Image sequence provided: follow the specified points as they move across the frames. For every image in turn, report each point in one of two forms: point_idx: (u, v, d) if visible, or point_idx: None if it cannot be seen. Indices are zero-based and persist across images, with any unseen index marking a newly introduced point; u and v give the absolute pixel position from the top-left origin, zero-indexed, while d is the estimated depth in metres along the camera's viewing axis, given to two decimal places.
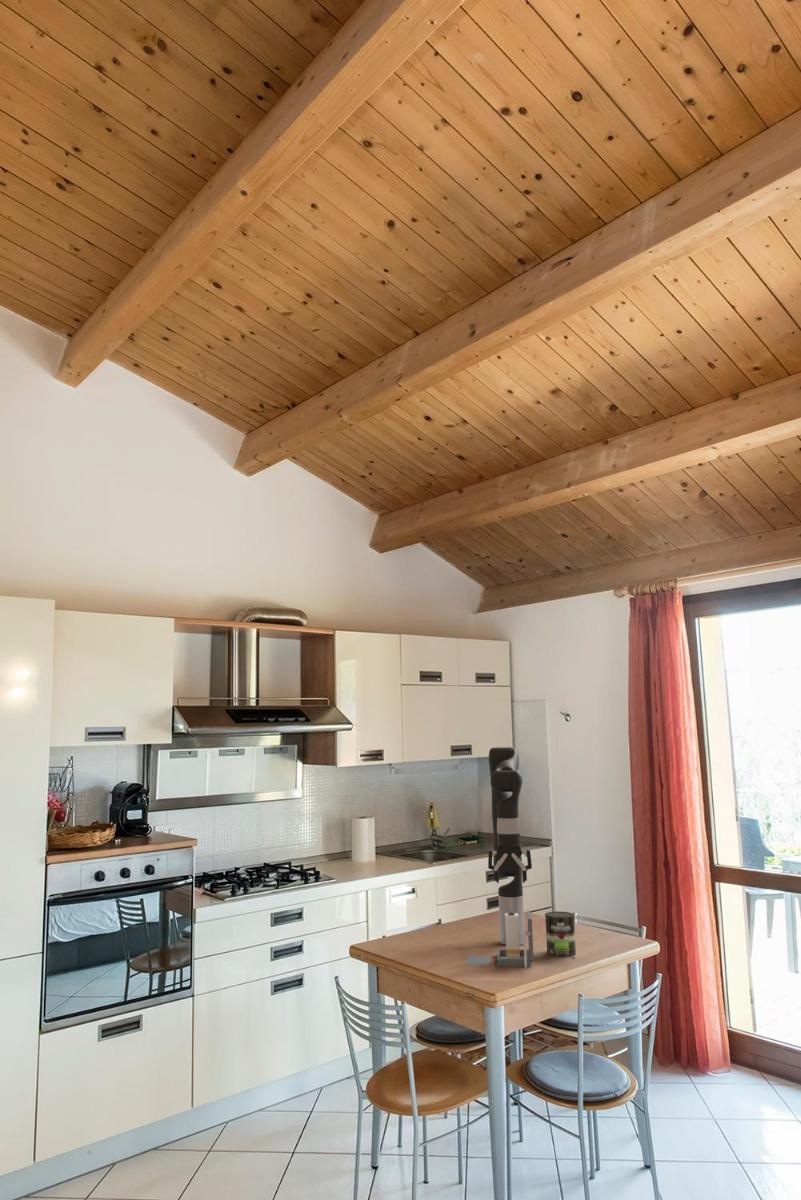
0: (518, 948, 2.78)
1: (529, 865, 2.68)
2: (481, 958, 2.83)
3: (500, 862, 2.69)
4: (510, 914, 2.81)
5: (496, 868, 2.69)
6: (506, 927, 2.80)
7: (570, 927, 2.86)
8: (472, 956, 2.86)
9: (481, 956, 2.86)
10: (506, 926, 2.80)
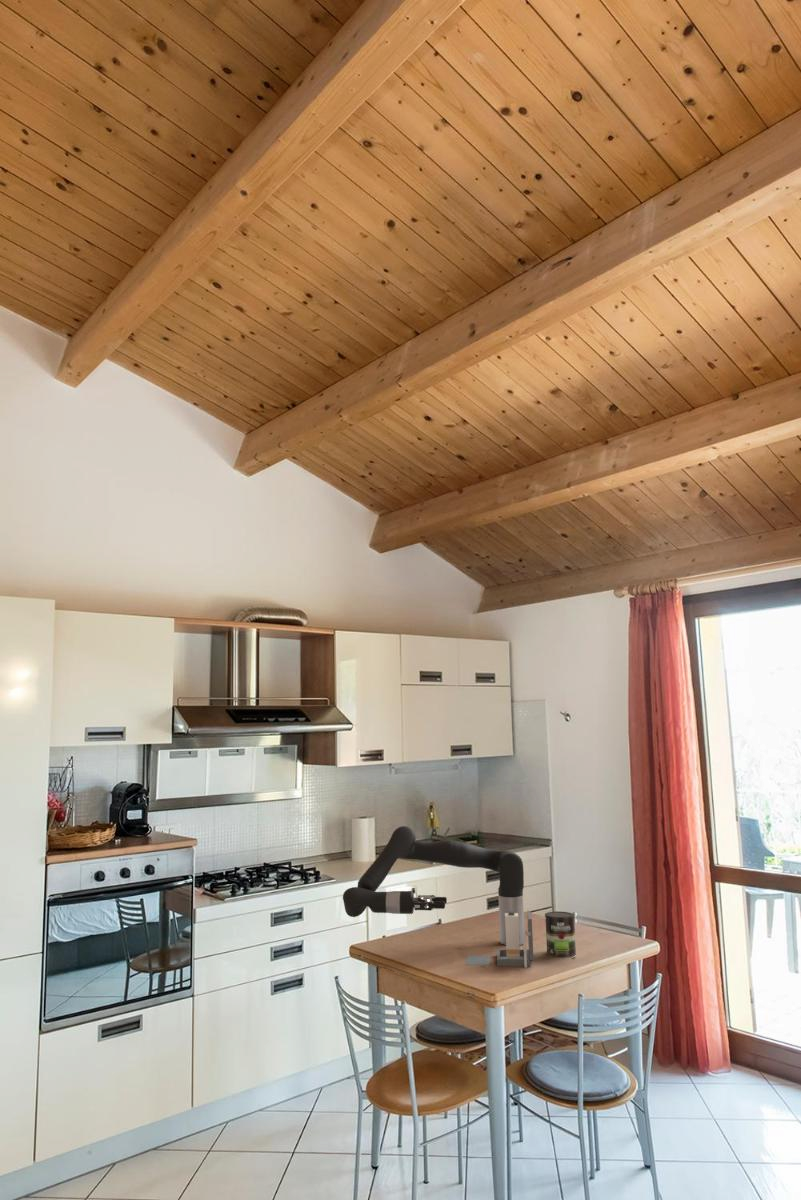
0: (518, 948, 2.78)
1: None
2: (481, 958, 2.83)
3: None
4: (510, 914, 2.81)
5: None
6: (506, 927, 2.80)
7: (570, 927, 2.86)
8: (472, 956, 2.86)
9: (481, 956, 2.86)
10: (506, 926, 2.80)
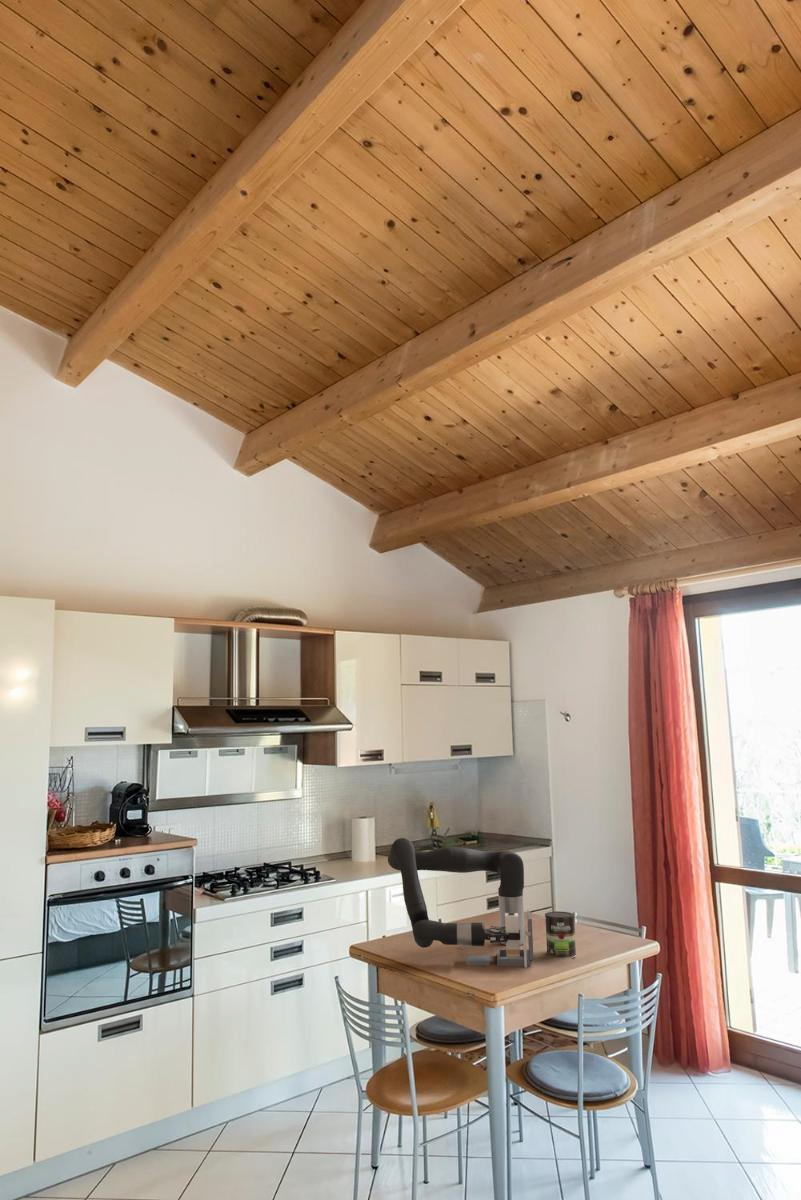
0: (518, 948, 2.78)
1: None
2: (481, 958, 2.83)
3: None
4: (510, 914, 2.81)
5: None
6: (506, 927, 2.80)
7: (570, 927, 2.86)
8: (472, 956, 2.86)
9: (481, 956, 2.86)
10: (506, 926, 2.80)
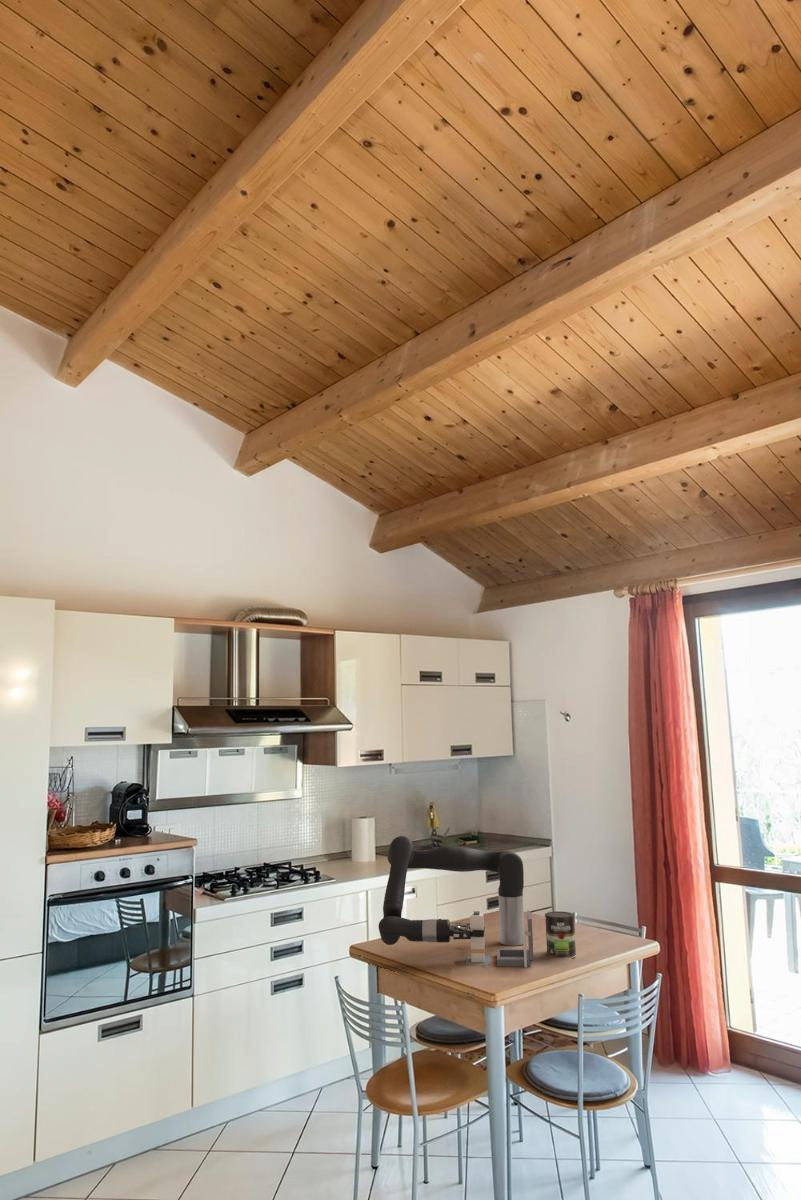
0: (483, 948, 2.79)
1: None
2: None
3: None
4: (475, 914, 2.83)
5: None
6: (471, 927, 2.81)
7: (570, 927, 2.86)
8: None
9: None
10: (471, 926, 2.81)
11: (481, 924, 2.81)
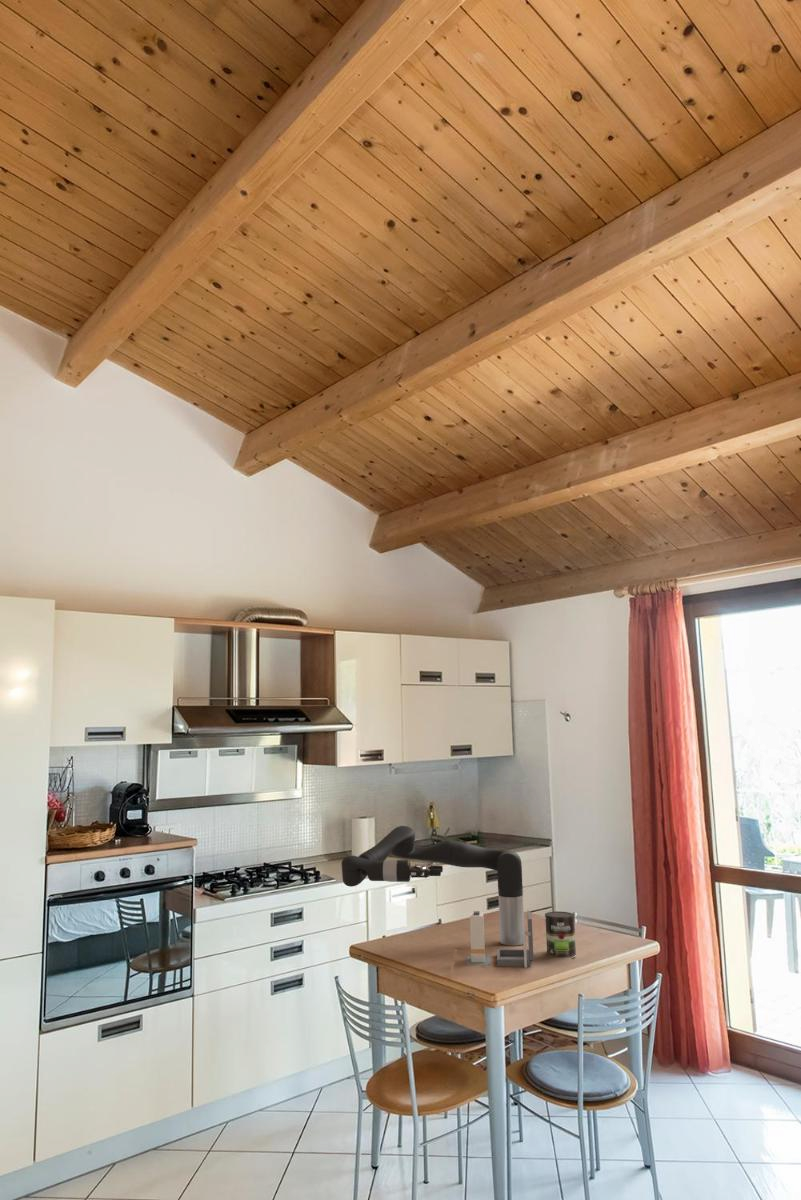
0: (483, 948, 2.79)
1: None
2: None
3: None
4: (475, 914, 2.83)
5: None
6: (471, 927, 2.81)
7: (570, 927, 2.86)
8: None
9: None
10: (471, 926, 2.81)
11: (481, 924, 2.81)
